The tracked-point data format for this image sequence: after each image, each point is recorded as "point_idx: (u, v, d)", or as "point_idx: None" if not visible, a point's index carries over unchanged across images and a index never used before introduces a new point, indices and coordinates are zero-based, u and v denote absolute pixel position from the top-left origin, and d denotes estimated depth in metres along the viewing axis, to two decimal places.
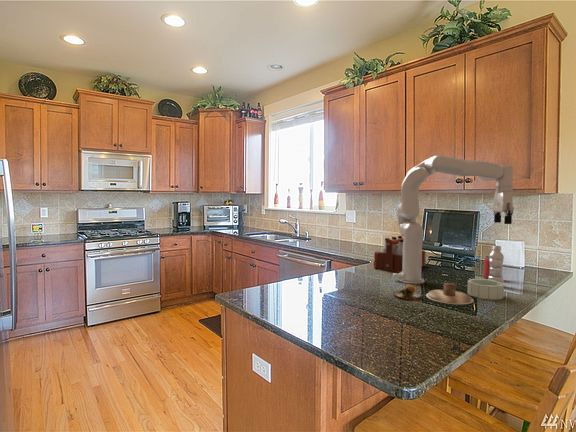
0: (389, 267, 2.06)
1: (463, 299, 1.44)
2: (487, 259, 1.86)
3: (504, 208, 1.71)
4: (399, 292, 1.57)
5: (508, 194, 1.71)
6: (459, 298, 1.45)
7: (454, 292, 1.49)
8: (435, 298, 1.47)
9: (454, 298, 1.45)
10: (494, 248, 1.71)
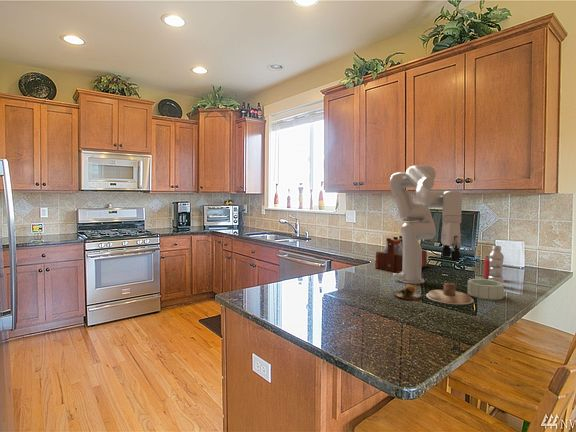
0: (391, 267, 2.06)
1: (463, 299, 1.44)
2: (487, 259, 1.86)
3: (451, 242, 1.44)
4: (399, 292, 1.57)
5: (456, 225, 1.44)
6: (459, 298, 1.45)
7: (454, 292, 1.49)
8: (435, 298, 1.47)
9: (454, 298, 1.45)
10: (494, 248, 1.71)
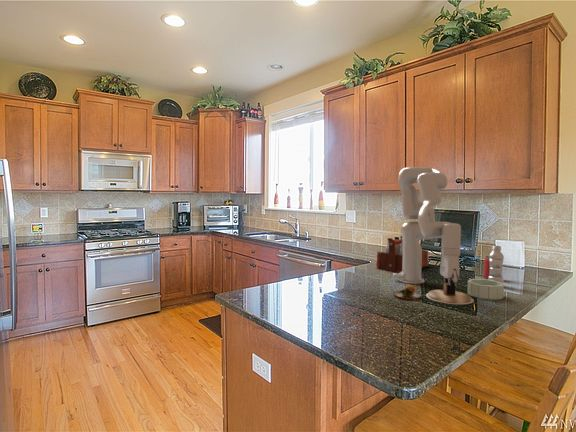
0: (392, 267, 2.06)
1: (463, 299, 1.44)
2: (487, 259, 1.86)
3: (449, 275, 1.45)
4: (399, 292, 1.57)
5: (455, 258, 1.45)
6: (459, 298, 1.45)
7: None
8: (435, 298, 1.47)
9: (454, 298, 1.45)
10: (494, 248, 1.71)
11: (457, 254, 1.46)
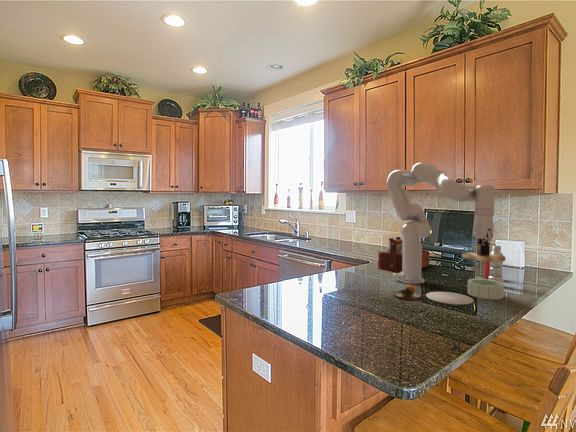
0: (393, 267, 2.06)
1: (498, 258, 1.47)
2: None
3: (484, 234, 1.48)
4: (399, 292, 1.57)
5: (489, 218, 1.48)
6: (494, 257, 1.48)
7: None
8: (469, 258, 1.50)
9: (489, 257, 1.48)
10: (494, 248, 1.71)
11: (491, 214, 1.49)
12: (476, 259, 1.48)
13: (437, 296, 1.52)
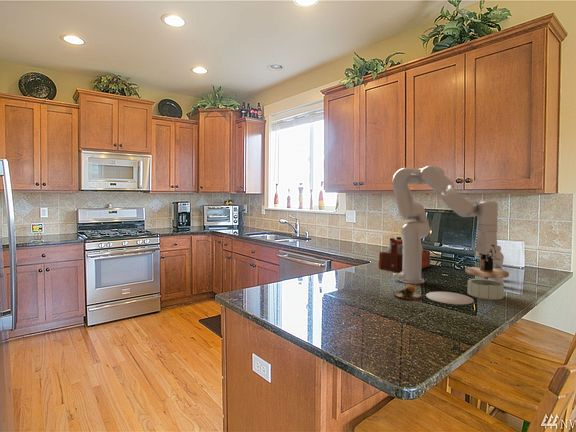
0: (394, 267, 2.06)
1: (502, 274, 1.48)
2: None
3: (488, 250, 1.49)
4: (399, 292, 1.57)
5: (492, 234, 1.49)
6: (497, 273, 1.49)
7: None
8: (473, 274, 1.51)
9: (492, 273, 1.49)
10: None
11: (495, 230, 1.50)
12: (480, 275, 1.49)
13: (437, 296, 1.52)
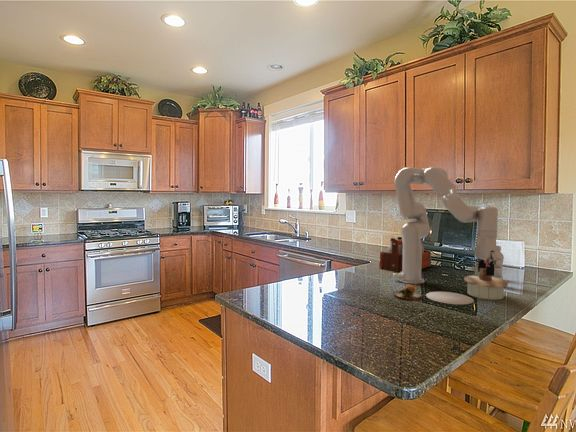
0: (395, 267, 2.06)
1: (500, 283, 1.48)
2: None
3: (487, 256, 1.49)
4: (399, 292, 1.57)
5: (492, 240, 1.49)
6: (496, 282, 1.50)
7: (490, 277, 1.53)
8: (472, 283, 1.51)
9: (491, 282, 1.50)
10: None
11: (494, 236, 1.50)
12: (479, 284, 1.49)
13: (437, 296, 1.52)
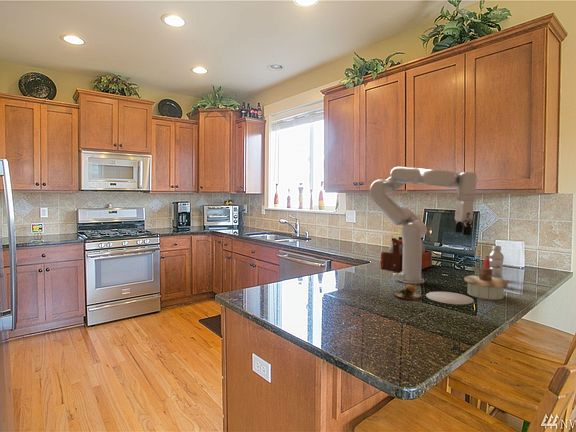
0: (396, 267, 2.06)
1: (500, 283, 1.48)
2: (487, 259, 1.86)
3: (463, 218, 1.60)
4: (399, 292, 1.57)
5: (469, 203, 1.60)
6: (496, 282, 1.50)
7: (490, 277, 1.53)
8: (472, 283, 1.51)
9: (491, 282, 1.50)
10: (494, 248, 1.71)
11: (472, 200, 1.60)
12: (479, 284, 1.49)
13: (437, 296, 1.52)
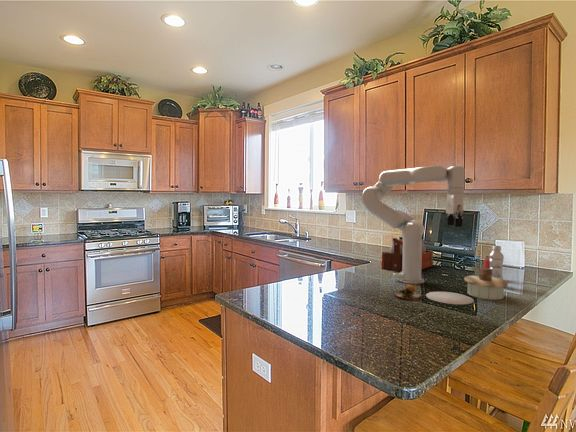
0: (397, 267, 2.06)
1: (500, 283, 1.48)
2: (487, 259, 1.86)
3: (454, 210, 1.65)
4: (399, 292, 1.57)
5: (459, 196, 1.65)
6: (496, 282, 1.50)
7: (490, 277, 1.53)
8: (472, 283, 1.51)
9: (491, 282, 1.50)
10: (494, 248, 1.71)
11: (461, 192, 1.66)
12: (479, 284, 1.49)
13: (437, 296, 1.52)
